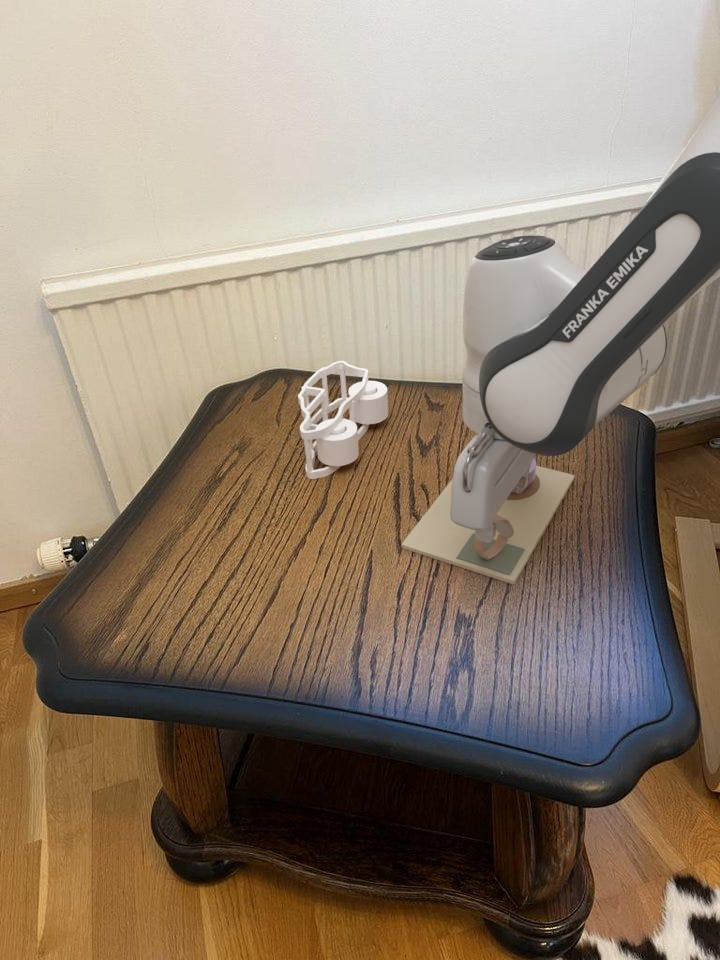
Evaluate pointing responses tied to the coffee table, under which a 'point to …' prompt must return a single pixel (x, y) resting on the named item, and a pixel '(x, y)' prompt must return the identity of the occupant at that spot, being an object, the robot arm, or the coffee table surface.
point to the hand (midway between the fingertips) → (502, 512)
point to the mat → (523, 512)
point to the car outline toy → (339, 417)
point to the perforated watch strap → (505, 532)
